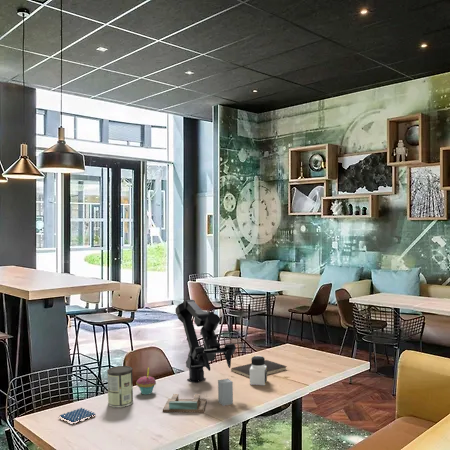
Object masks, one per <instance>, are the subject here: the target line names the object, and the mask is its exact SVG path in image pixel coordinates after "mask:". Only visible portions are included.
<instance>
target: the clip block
mask: <svg viewBox="0 0 450 450" xmlns="http://www.w3.org/2000/svg"><path fill="white" fill-rule="evenodd" d="M233 383H234V382H233V381H232V380H231V379H230V378H224V379H218V380H217V391H218V395H217V396H218V397H217V398H218V399H217V400H218V403H219V404H220V405H222V406H223V407H224V406H229V405H234V396H233V395H234V392H233V391H234V389H233V385H234V384H233Z"/></svg>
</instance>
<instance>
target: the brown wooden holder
mask: <svg viewBox="0 0 450 450" xmlns="http://www.w3.org/2000/svg"><path fill="white" fill-rule="evenodd" d="M207 401H208V399H207V398H201V394H200V393H195V394H194V396H193V398H179V393H173V395H172V397H171V398H168V399H167V401H166V403H165V404H164V406H163V408H162V413H204V410H205V408H206V405H207Z"/></svg>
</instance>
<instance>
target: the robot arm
mask: <svg viewBox="0 0 450 450" xmlns="http://www.w3.org/2000/svg"><path fill="white" fill-rule="evenodd" d="M175 314H176V316H177V318H178V320H179V321H180V322H181V323H182V325H183V329H184V332H185V336H186V339H187V344H188V347H189V351H188V354H187V359H186V361H185V367H186V368H187V369H188V371H189V373H188V374H189V376H188V378H187V379H186V381H189V382H192V383H195V384H197V383H201V382H202V381H206V379H207V378H206V377H205V371H204V368H206V369H207V370H208V372H210V371H211V365H210V362H213V361H215V360H216V355H217V354H221V353H222V354H223V355H224V359H225V360H226V363H227V367H228V368H229V369H230V368H232V363H231V362H232V356H233V354H235V351H236V349H237V346H236V345H235V344H234V343H232V342H231V343H225V345H224V347H220V346H221V343H220V342H218V335H216V333H215V331H216V330H217V328H218V326H219V324H220V321H221V318H220V316H219V315H218V314H216V313H214V311H209V312H208V311H206V310H203V309H202V307H200V305H198V304H197V303H196V301H195V299H186V300H184V301H183V302H181V303H179V304H177V306H176V308H175ZM193 318H194V319H193ZM193 321H194V323H193ZM194 324H195V325H194ZM195 326H197V328H198V327H201V328H200V332H199V333H200V334H199V335H200V336H202V339H203V346H201V345H200V344H199V343H200V342H199V339H198V336H197V333H196V330H195Z"/></svg>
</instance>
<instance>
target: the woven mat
mask: <svg viewBox="0 0 450 450" xmlns="http://www.w3.org/2000/svg"><path fill="white" fill-rule="evenodd" d="M64 415H65V416H64ZM92 415H93V416H94V415H95V416H96V413H95V412H93V411H90V410H88V409H86V408H83V407H80V408H77V409H73V410H71V411H67V412H66V413H65V412H64V413H62V414H60V415H59V417H60V416H61V417H62V418H64V419H66V420H69V421H71V422H76V421H78V420H79V421H80V420H81V419H83V418H86V417H90V416H92ZM78 417H79V418H78Z"/></svg>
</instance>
